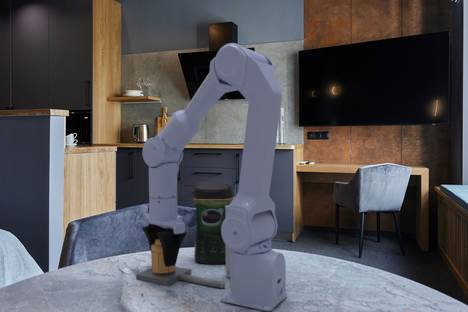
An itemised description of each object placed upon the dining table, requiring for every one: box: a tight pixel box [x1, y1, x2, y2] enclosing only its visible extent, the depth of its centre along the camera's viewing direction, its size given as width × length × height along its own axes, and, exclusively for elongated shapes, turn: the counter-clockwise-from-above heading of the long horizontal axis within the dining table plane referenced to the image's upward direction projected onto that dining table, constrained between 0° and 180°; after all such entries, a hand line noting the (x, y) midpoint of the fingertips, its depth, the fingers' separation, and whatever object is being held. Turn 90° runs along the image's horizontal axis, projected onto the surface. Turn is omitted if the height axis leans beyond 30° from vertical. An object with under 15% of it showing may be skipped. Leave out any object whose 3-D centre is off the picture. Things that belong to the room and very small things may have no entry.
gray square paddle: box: [135, 266, 226, 289], centre depth 79 cm, size 19×8×4 cm, turn 61°
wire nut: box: [150, 239, 177, 274], centre depth 82 cm, size 5×5×6 cm
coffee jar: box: [192, 181, 235, 265], centre depth 93 cm, size 10×8×19 cm
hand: (164, 262), depth 82 cm, fingers closed on wire nut, 5 cm apart
